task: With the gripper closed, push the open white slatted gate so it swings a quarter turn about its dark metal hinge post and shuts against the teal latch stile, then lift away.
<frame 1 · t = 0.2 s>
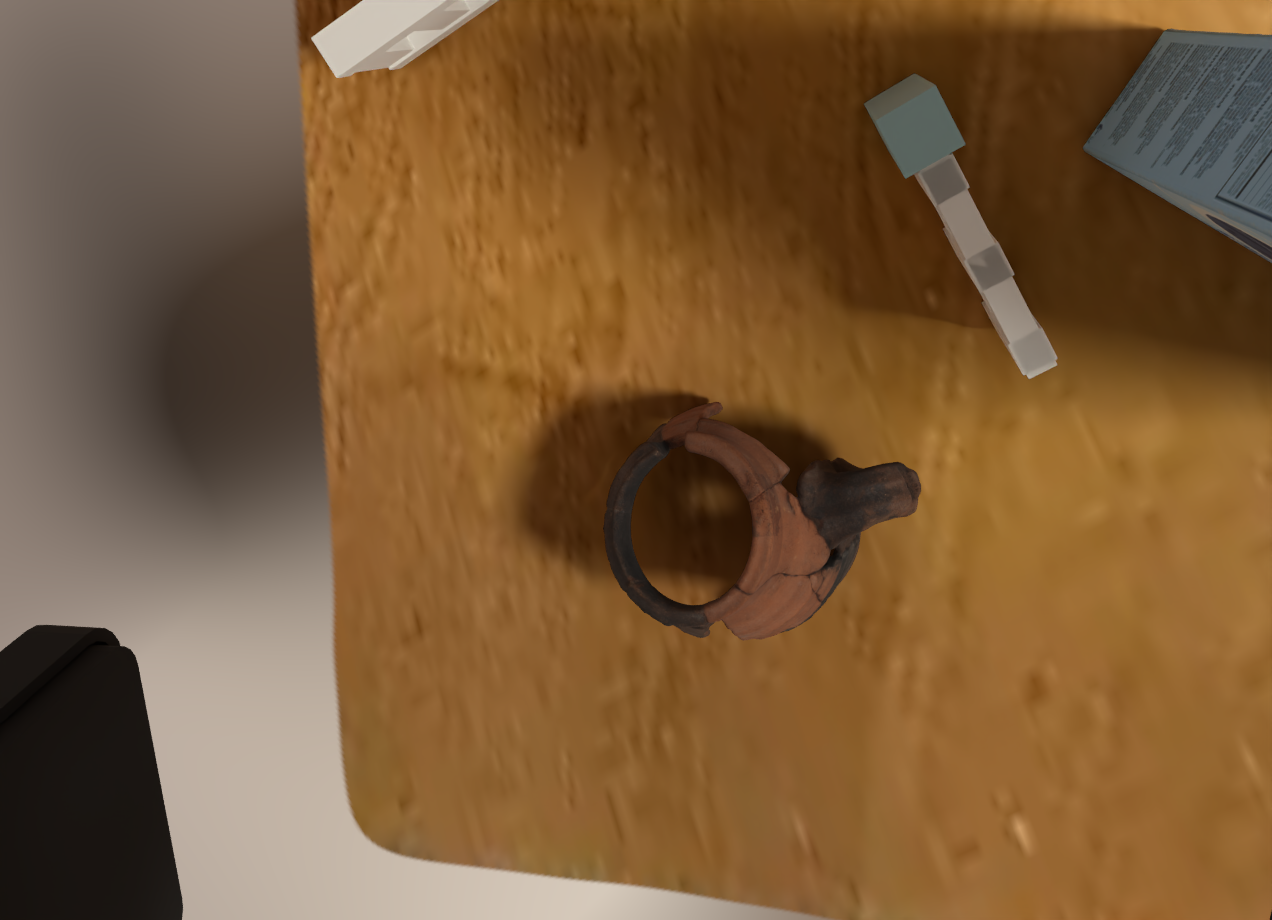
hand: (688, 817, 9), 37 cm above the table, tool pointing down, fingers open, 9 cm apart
latch stile: (901, 113, 42), on the table
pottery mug: (769, 491, 48), on the table
fence panel: (964, 234, 43), on the table
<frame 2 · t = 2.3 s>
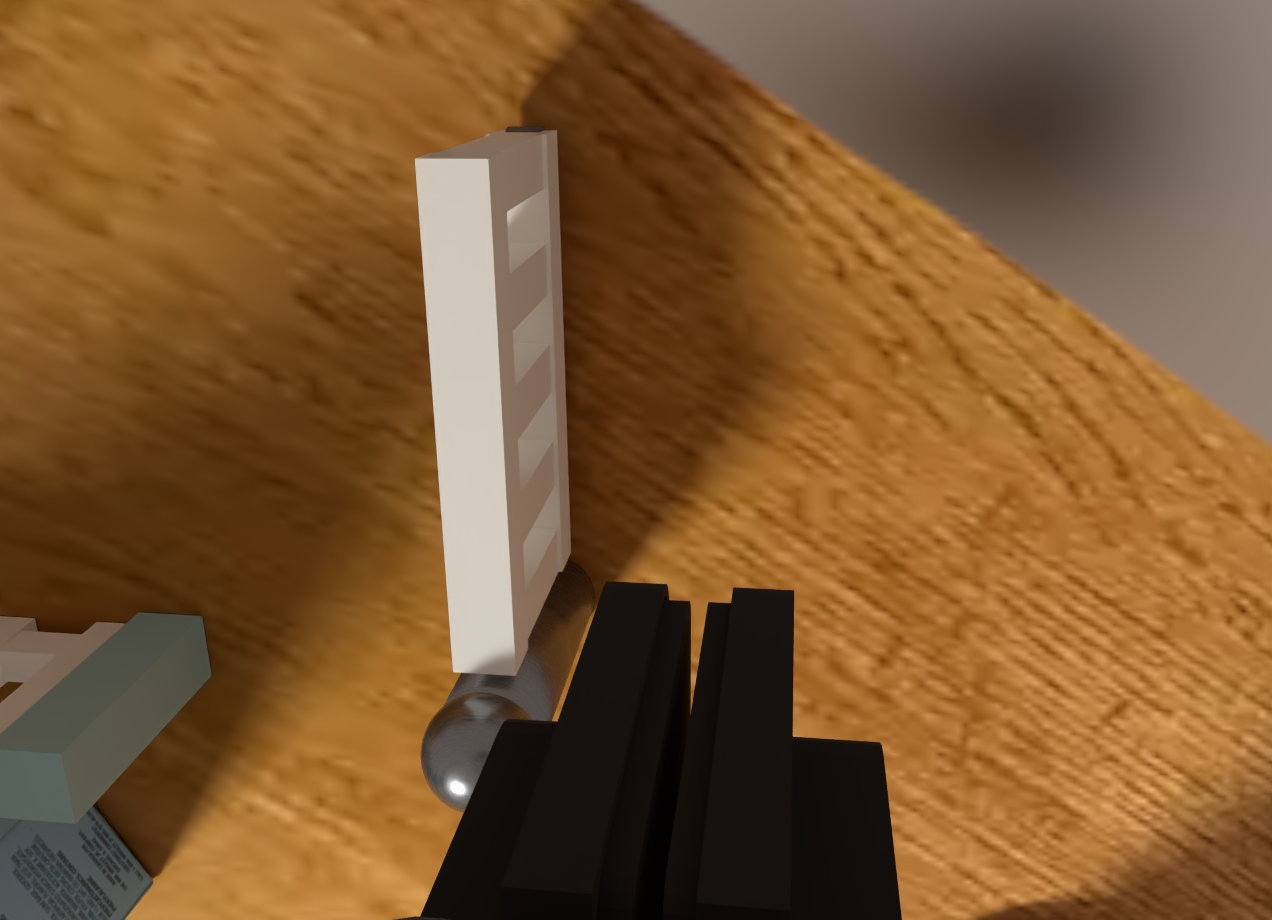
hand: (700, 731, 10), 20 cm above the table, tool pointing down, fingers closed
gate: (509, 386, 27), point 4 cm above the table, hinge at -90.0°
latch stile: (175, 644, 35), on the table
fence panel: (20, 634, 35), on the table
hinge post: (552, 594, 32), on the table
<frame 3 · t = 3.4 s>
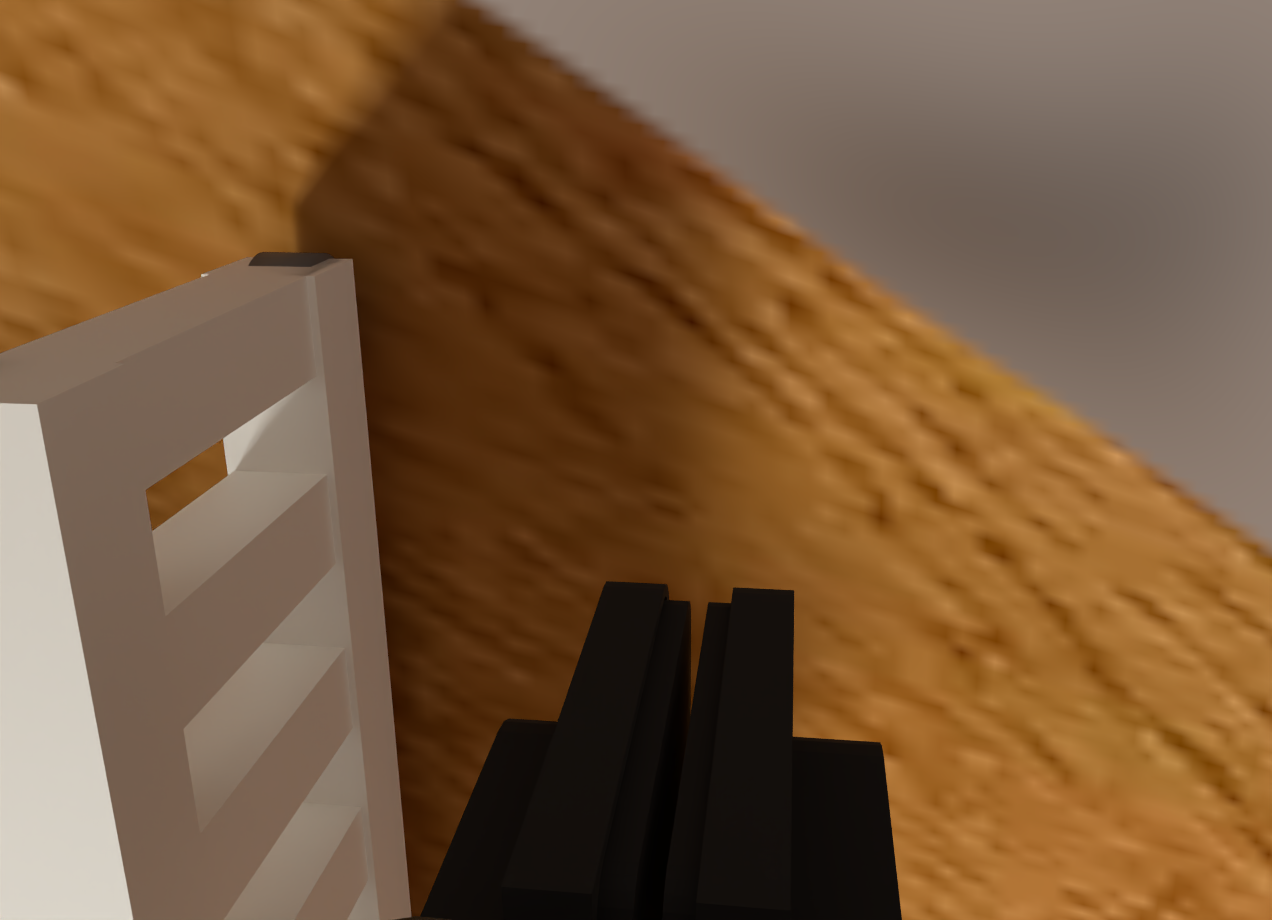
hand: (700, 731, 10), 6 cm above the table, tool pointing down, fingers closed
gate: (244, 758, 14), point 4 cm above the table, hinge at -90.0°
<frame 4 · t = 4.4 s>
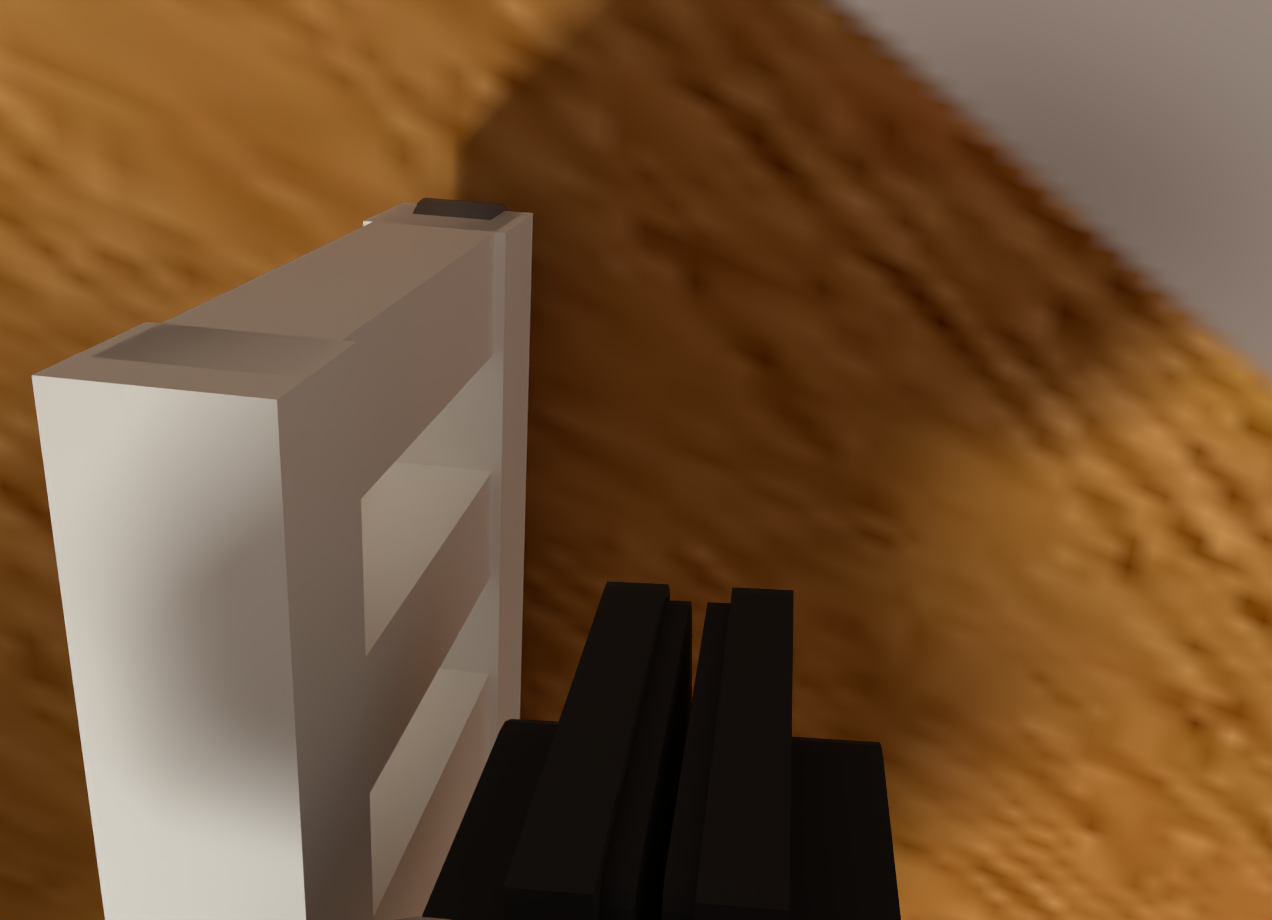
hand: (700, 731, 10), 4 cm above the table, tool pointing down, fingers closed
gate: (383, 809, 11), point 4 cm above the table, hinge at -89.0°, touching gripper
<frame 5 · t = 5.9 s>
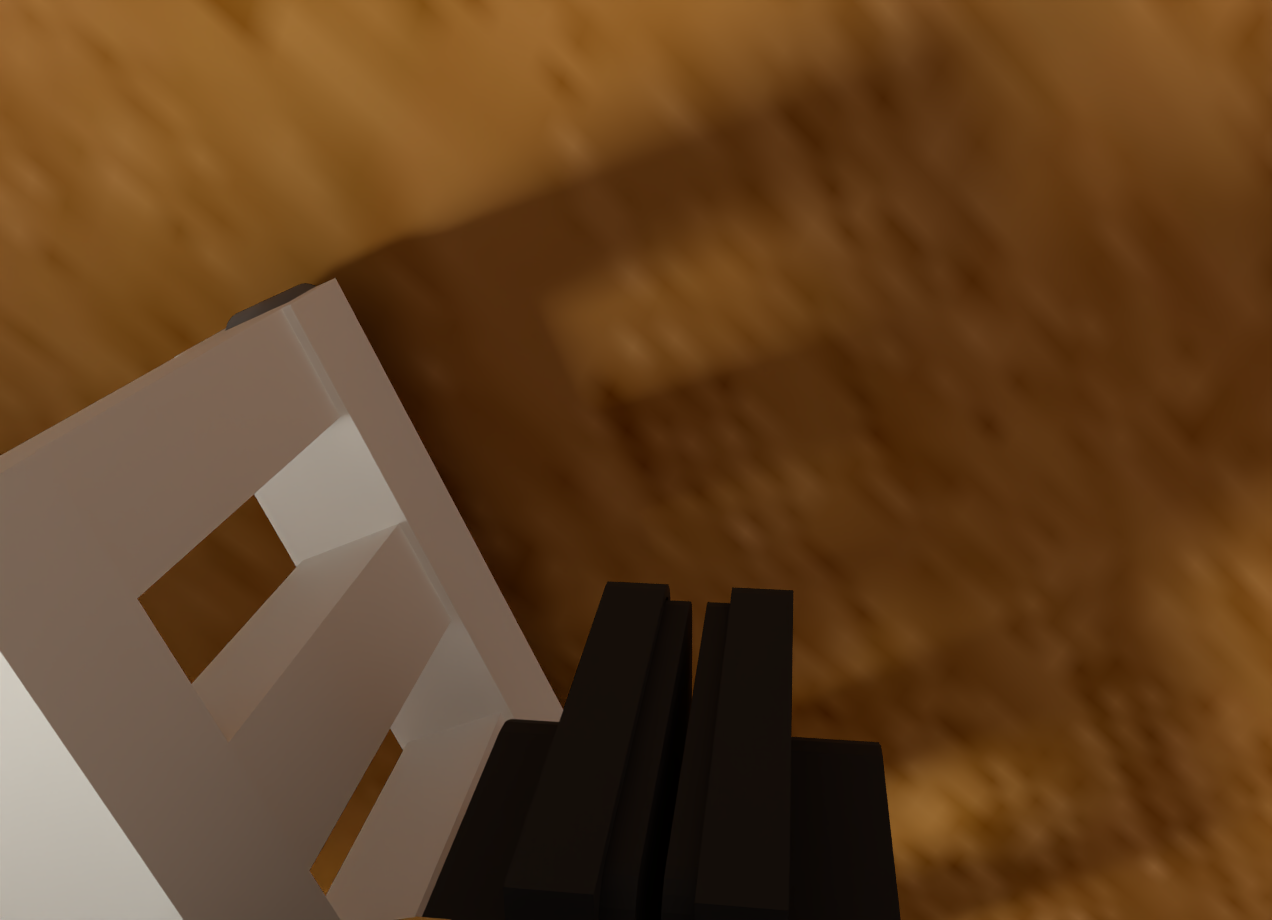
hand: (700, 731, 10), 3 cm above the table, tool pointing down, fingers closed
gate: (429, 876, 11), point 4 cm above the table, hinge at -37.1°, touching gripper
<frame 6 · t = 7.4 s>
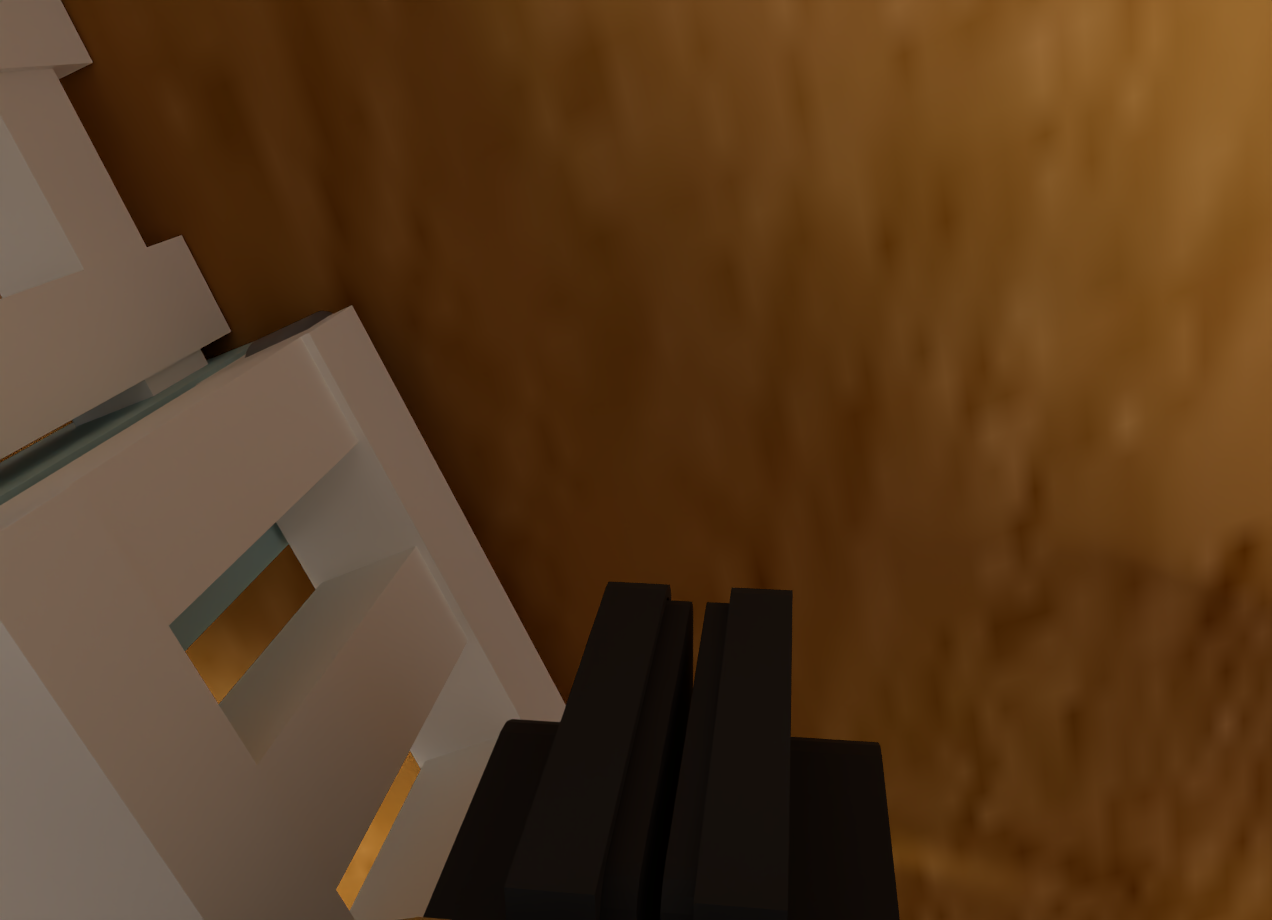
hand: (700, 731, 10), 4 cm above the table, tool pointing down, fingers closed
gate: (449, 893, 12), point 4 cm above the table, hinge at 2.8°, touching gripper, latch stile
latch stile: (236, 439, 14), on the table
fence panel: (20, 30, 13), on the table
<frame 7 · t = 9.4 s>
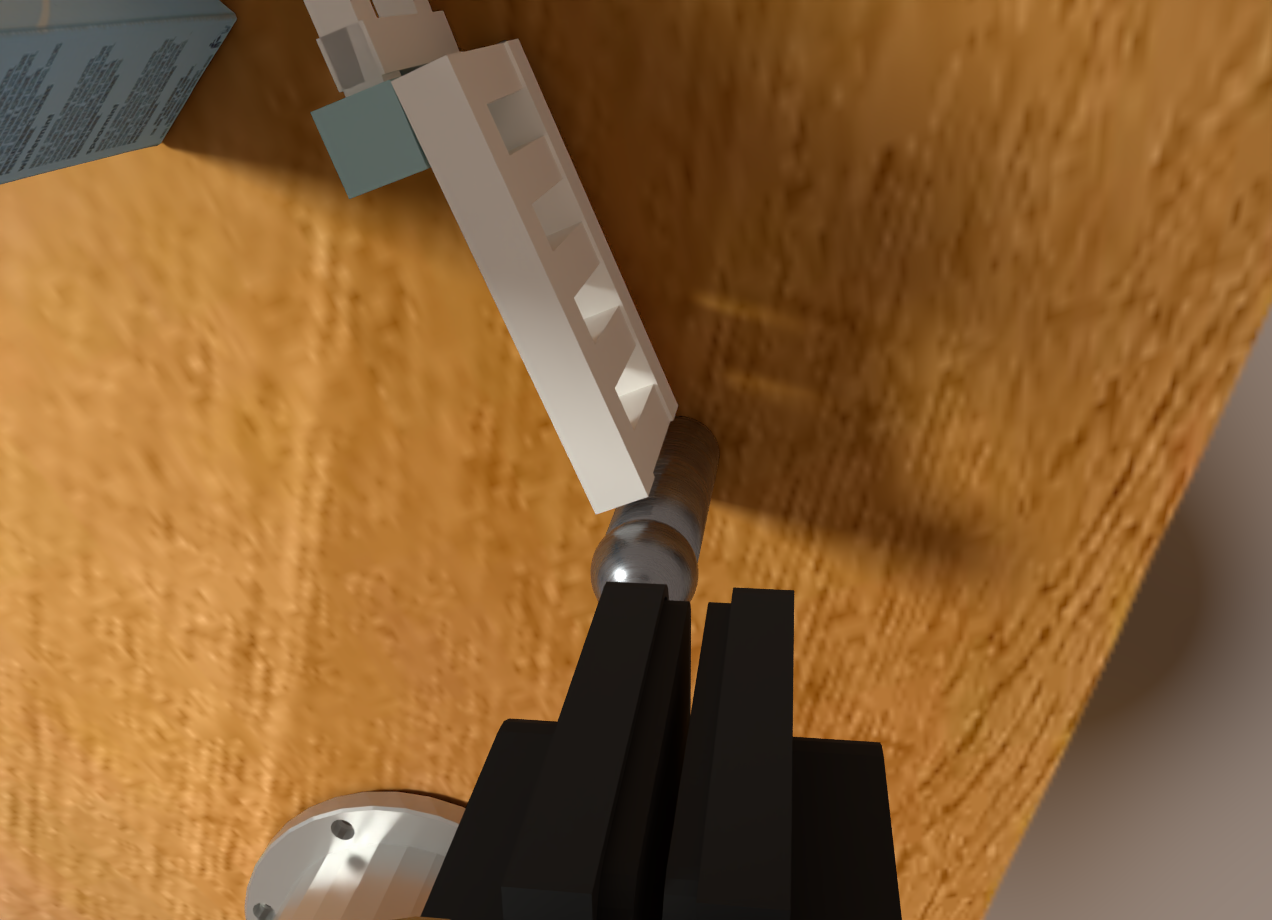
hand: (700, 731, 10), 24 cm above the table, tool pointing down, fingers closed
gate: (556, 263, 30), point 4 cm above the table, hinge at 2.8°
latch stile: (459, 106, 32), on the table
hinge post: (679, 453, 35), on the table
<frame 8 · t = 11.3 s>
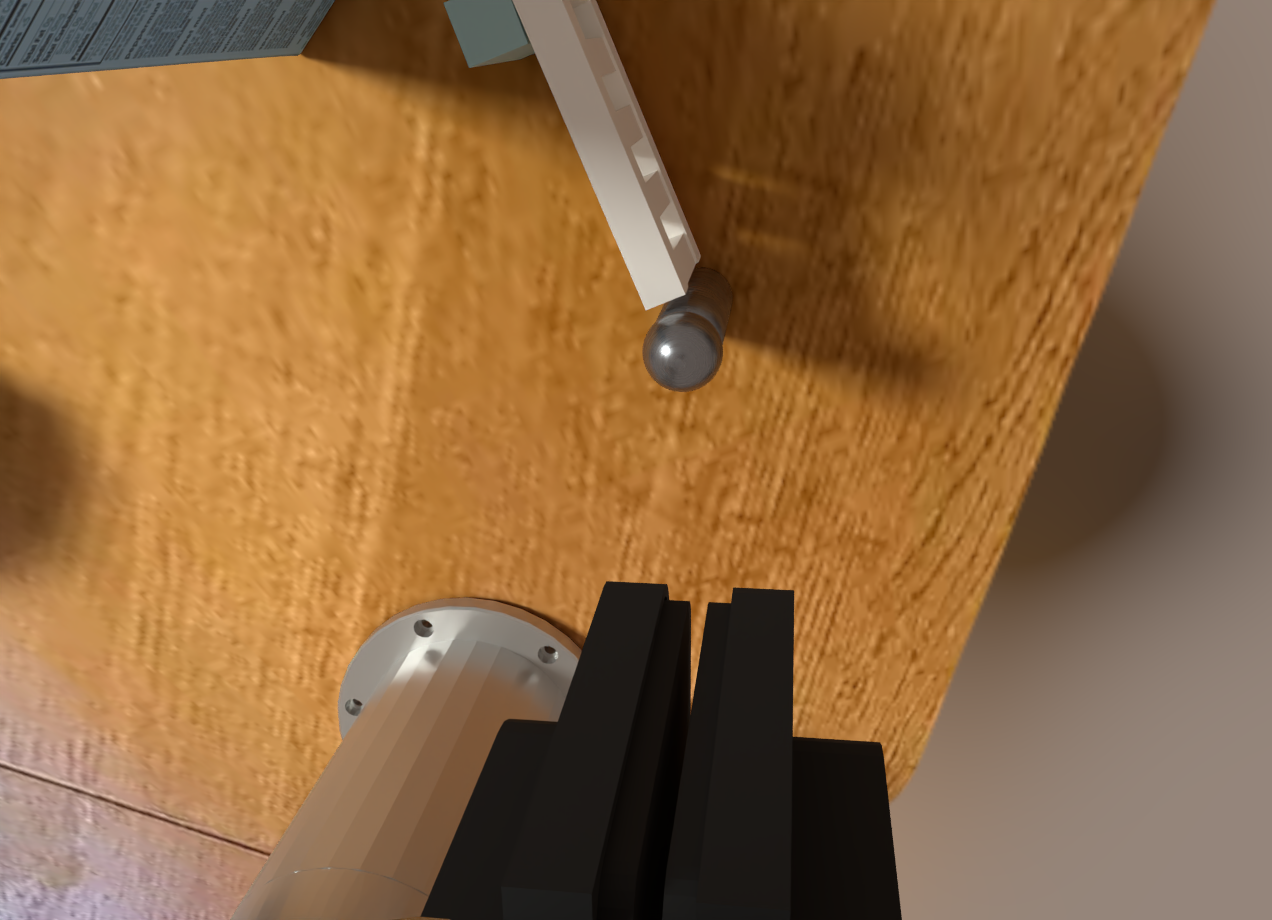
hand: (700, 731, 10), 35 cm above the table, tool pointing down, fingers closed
gate: (613, 130, 40), point 4 cm above the table, hinge at 2.8°
latch stile: (534, 21, 42), on the table
hinge post: (701, 298, 45), on the table
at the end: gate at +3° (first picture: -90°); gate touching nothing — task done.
